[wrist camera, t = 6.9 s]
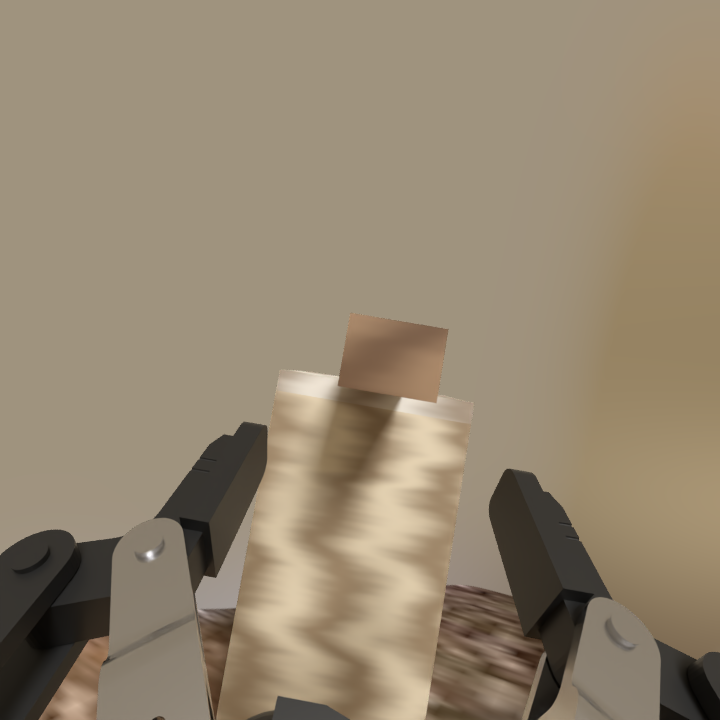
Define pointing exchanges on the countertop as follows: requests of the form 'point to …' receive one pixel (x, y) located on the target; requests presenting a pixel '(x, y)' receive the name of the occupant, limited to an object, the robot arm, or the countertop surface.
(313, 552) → the stand
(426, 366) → the tan wooden plank
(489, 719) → the countertop surface
